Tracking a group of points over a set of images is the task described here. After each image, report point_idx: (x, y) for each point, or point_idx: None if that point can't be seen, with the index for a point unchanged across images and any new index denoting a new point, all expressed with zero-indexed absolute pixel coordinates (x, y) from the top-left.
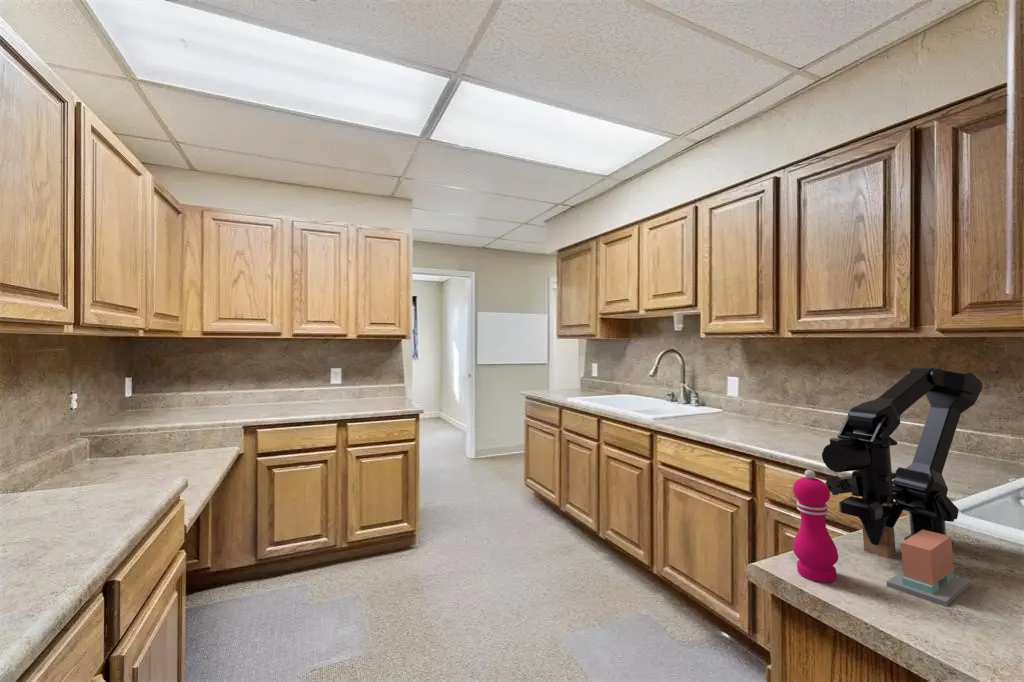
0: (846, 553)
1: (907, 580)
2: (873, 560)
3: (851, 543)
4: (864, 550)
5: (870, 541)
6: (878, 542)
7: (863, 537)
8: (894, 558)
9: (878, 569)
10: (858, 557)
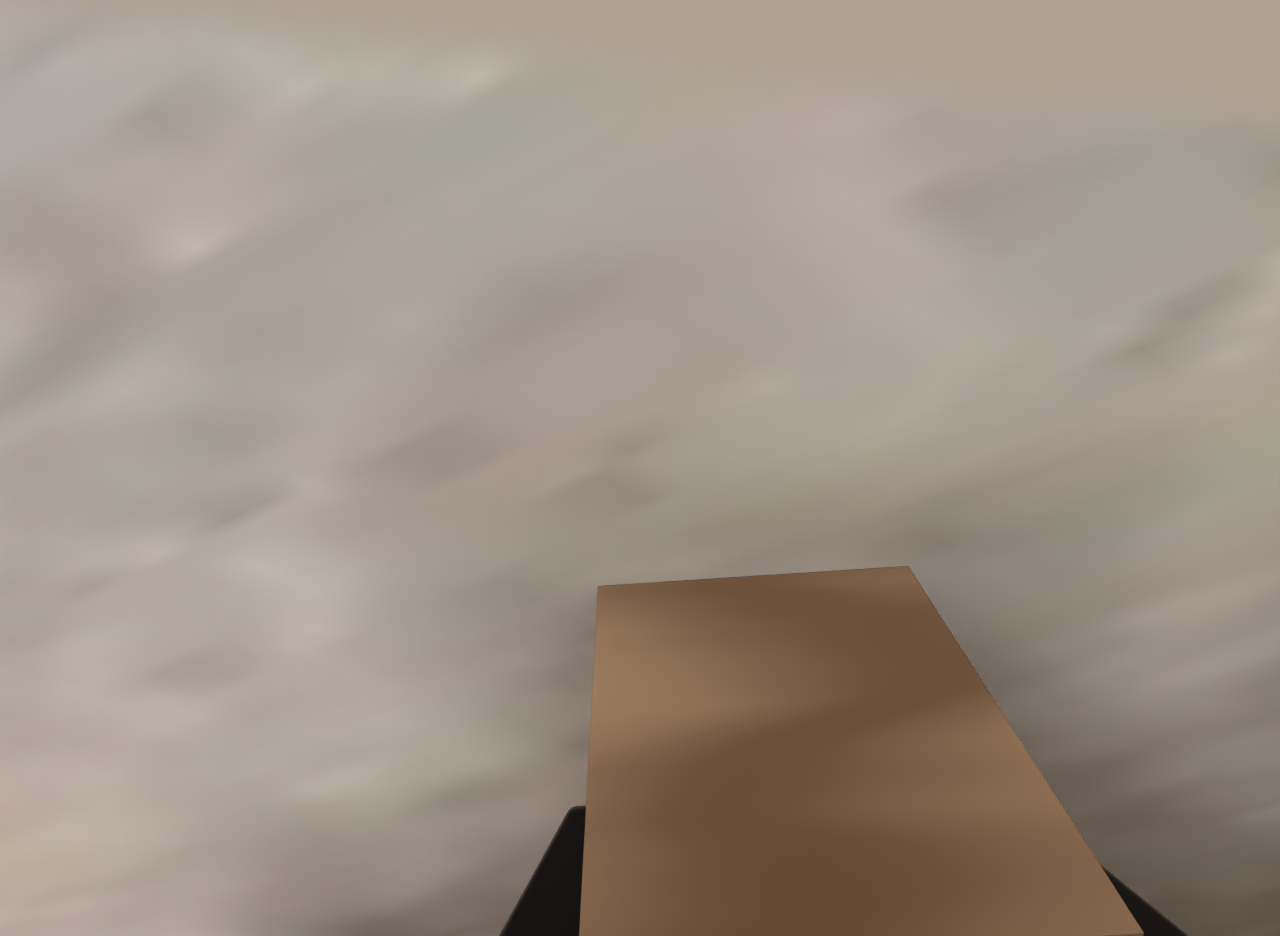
0: (245, 501)
1: None
2: (376, 773)
3: (751, 336)
4: (598, 593)
5: (553, 837)
6: None
7: (589, 747)
8: None
9: (177, 891)
10: (279, 649)
